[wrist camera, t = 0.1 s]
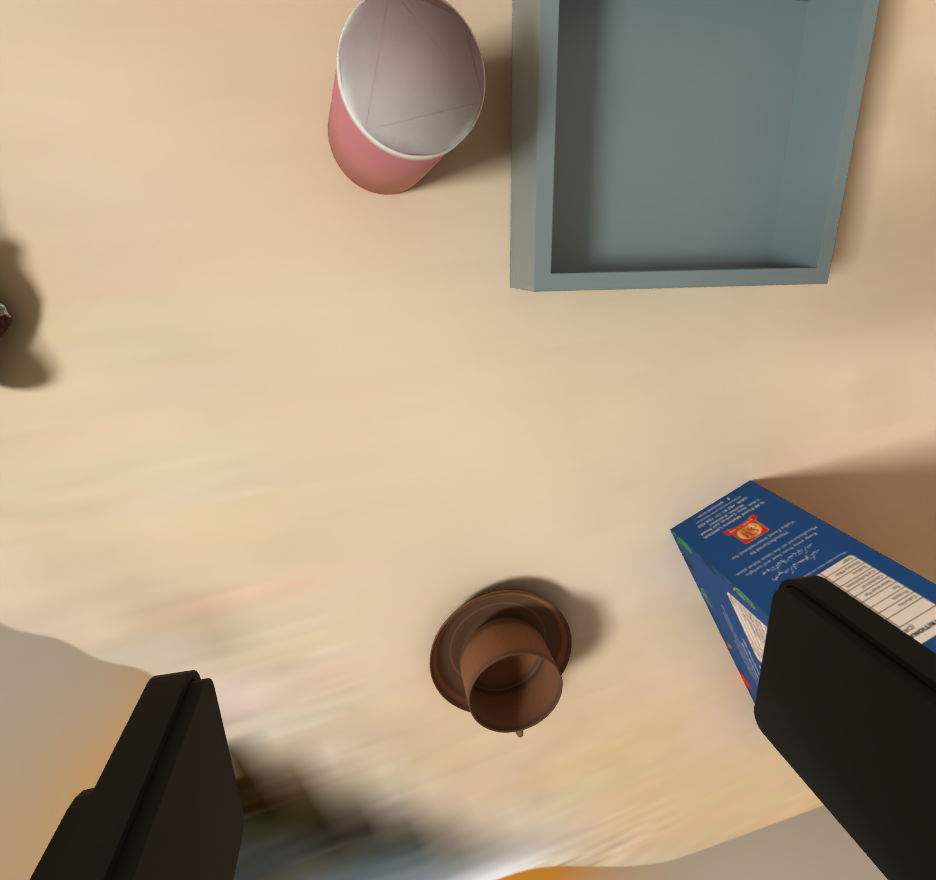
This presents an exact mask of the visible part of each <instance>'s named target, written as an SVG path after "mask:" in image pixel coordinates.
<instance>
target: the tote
mask: <svg viewBox="0 0 936 880" xmlns="http://www.w3.org/2000/svg"><path fill="white" fill-rule="evenodd" d="M879 2H880V0H513V13H512V130H511V246H510V288H516V289H522V290H527V291H533V292H540V291H577V290H613V289H650V288H686V287H723V286H760V285H796V284H827V283H828V277H829V272H830V267H831V261H832V256H833V250H834V245H835V240H836V234H837V229H838V223H839V218H840V213H841V207H842V202H843V196H844V191H845V186H846V180H847V175H848V170H849V164H850V159H851V153H852V148H853V143H854V137H855V132H856V126H857V121H858V116H859V110H860V105H861V99H862V94H863V89H864V83H865V78H866V73H867V67H868V62H869V56H870V51H871V46H872V40H873V35H874V29H875V24H876V19H877V13H878V8H879Z"/></svg>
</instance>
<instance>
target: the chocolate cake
mask: <svg viewBox="0 0 936 880" xmlns="http://www.w3.org/2000/svg"><path fill="white" fill-rule="evenodd" d="M11 321H12V318H11V316H10V315H9V314H8V312H7V309H6V307H5V306H4V305H2V304H1V303H0V340H1V337H2V334H3V333H5V331H6V330H7V329H8V327H9V326H10V324H11Z"/></svg>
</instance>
